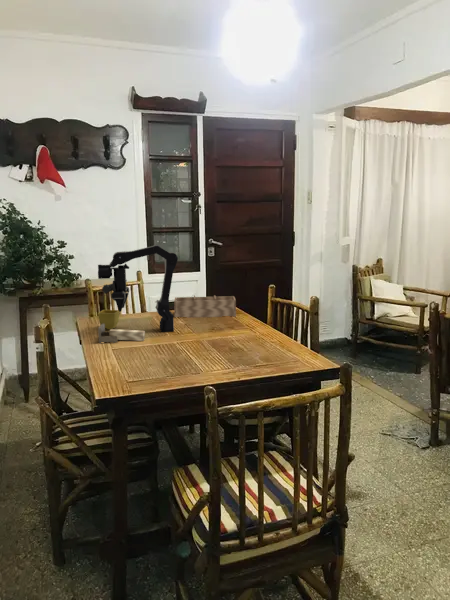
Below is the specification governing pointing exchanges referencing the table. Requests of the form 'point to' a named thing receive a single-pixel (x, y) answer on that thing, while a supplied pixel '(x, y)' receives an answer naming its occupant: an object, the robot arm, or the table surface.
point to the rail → (128, 334)
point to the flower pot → (109, 318)
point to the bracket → (105, 335)
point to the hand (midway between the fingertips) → (121, 309)
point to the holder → (205, 306)
